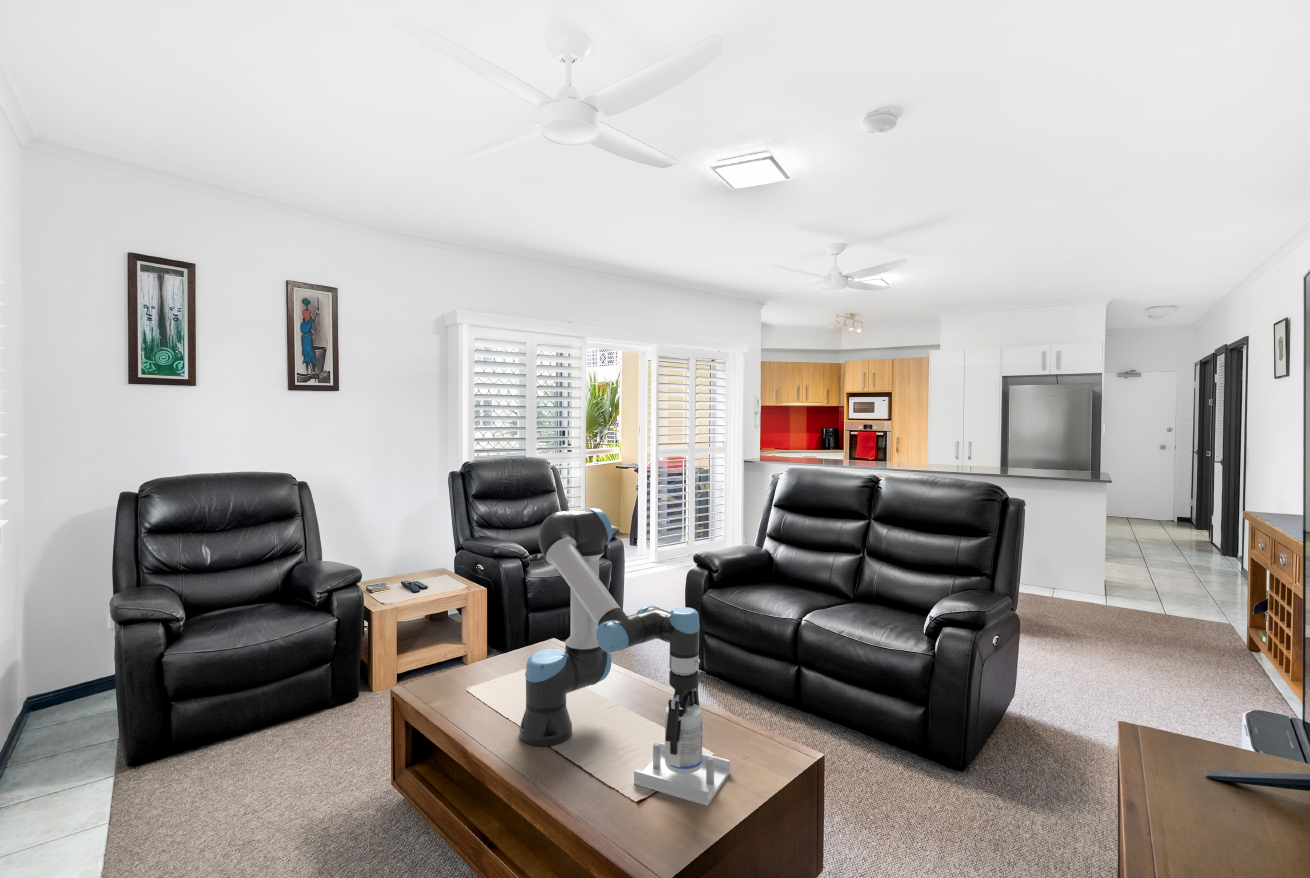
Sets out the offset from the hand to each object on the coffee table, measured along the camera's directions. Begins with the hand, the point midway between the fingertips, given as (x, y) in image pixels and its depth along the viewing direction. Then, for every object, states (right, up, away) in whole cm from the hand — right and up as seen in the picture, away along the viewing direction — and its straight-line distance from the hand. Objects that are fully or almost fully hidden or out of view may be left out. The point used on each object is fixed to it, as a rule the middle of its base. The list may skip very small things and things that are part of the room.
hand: (683, 755), depth 166 cm
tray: (0, -6, 0) cm, 6 cm away
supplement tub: (0, -3, 0) cm, 3 cm away
